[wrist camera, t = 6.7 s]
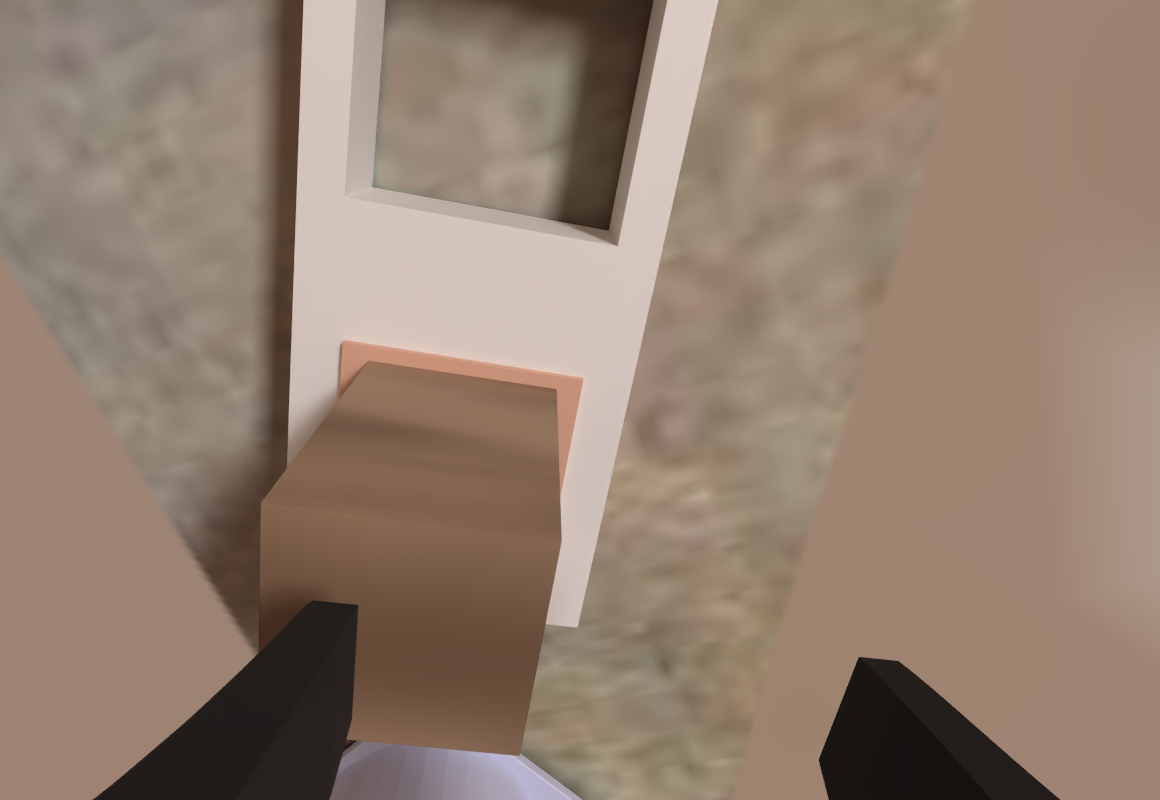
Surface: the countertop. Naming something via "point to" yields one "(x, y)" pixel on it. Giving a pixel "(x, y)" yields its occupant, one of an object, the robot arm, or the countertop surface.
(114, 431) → the countertop surface
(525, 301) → the socket block
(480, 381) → the plug
